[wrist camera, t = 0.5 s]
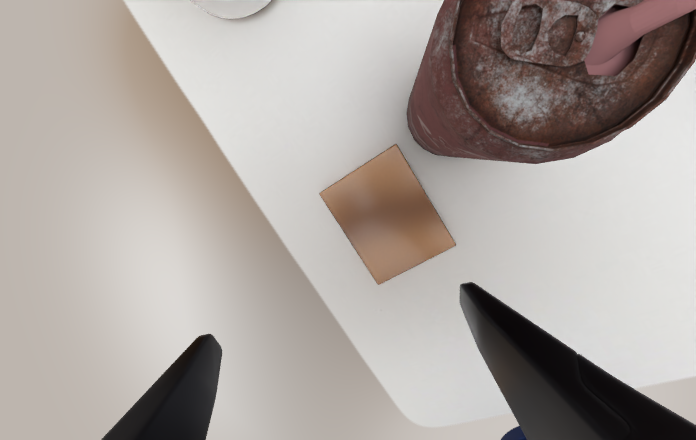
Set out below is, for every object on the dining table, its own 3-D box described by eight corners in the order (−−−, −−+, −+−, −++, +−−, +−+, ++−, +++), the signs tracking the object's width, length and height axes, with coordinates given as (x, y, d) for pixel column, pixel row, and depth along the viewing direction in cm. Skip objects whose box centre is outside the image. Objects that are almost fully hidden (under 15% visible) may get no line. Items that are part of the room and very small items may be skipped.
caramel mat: (454, 243, 22) (456, 245, 21) (378, 282, 24) (378, 285, 23) (396, 143, 21) (396, 143, 20) (320, 192, 23) (318, 193, 22)
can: (513, 128, 19) (790, 76, 6) (427, 170, 21) (492, 203, 7) (479, 44, 18) (715, -241, 5) (392, 94, 20) (395, -24, 7)
